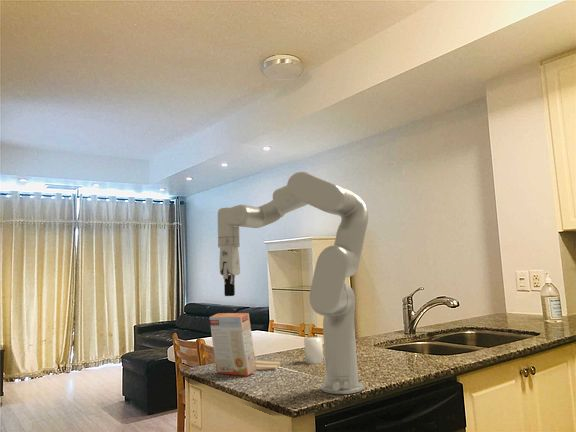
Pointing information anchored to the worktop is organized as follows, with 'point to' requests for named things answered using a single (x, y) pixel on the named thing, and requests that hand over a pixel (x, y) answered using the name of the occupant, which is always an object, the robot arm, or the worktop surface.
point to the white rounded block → (313, 350)
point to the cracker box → (233, 343)
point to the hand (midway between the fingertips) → (229, 295)
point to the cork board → (267, 364)
